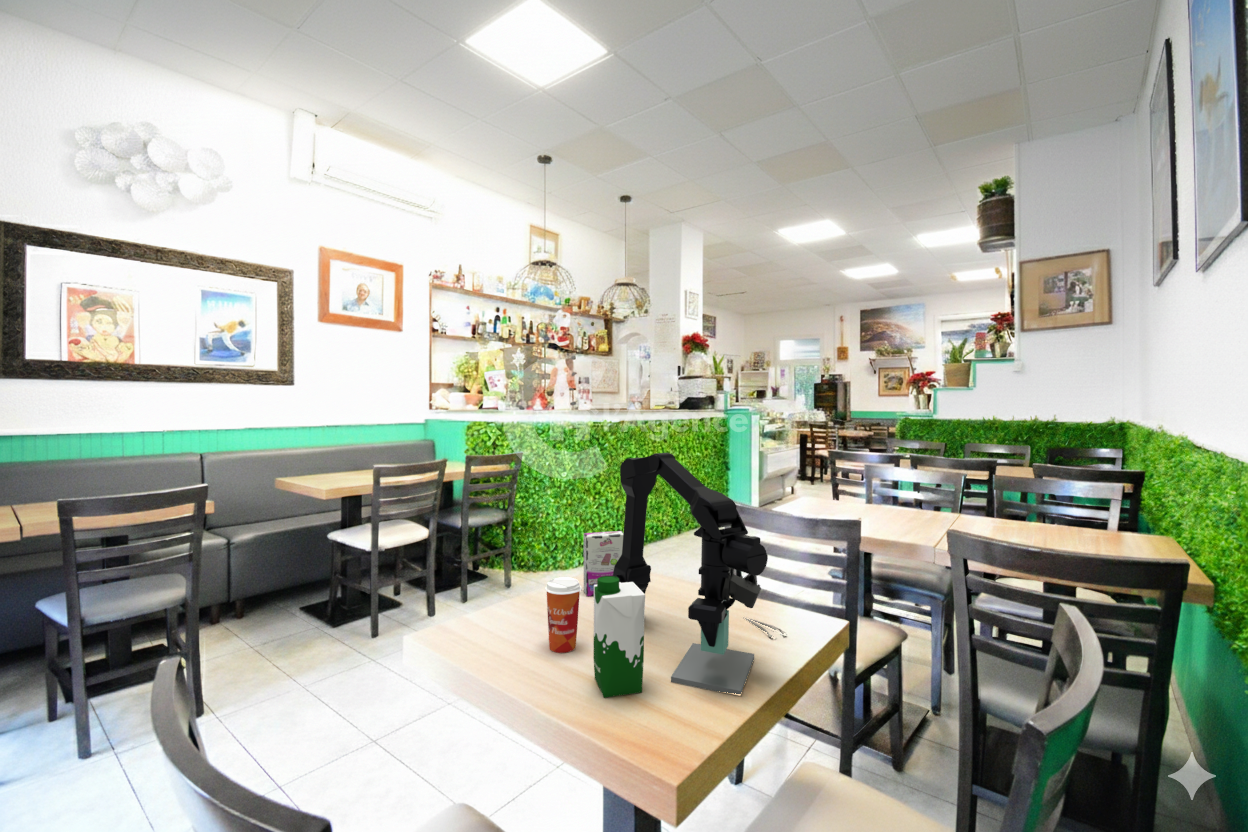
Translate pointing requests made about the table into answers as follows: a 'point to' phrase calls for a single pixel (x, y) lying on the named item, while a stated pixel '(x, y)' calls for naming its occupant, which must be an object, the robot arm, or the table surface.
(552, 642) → the paper cup
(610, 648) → the milk carton
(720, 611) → the robot arm
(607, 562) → the candy bar box
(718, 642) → the block
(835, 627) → the table surface
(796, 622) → the table surface
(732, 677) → the board
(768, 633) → the tweezers
